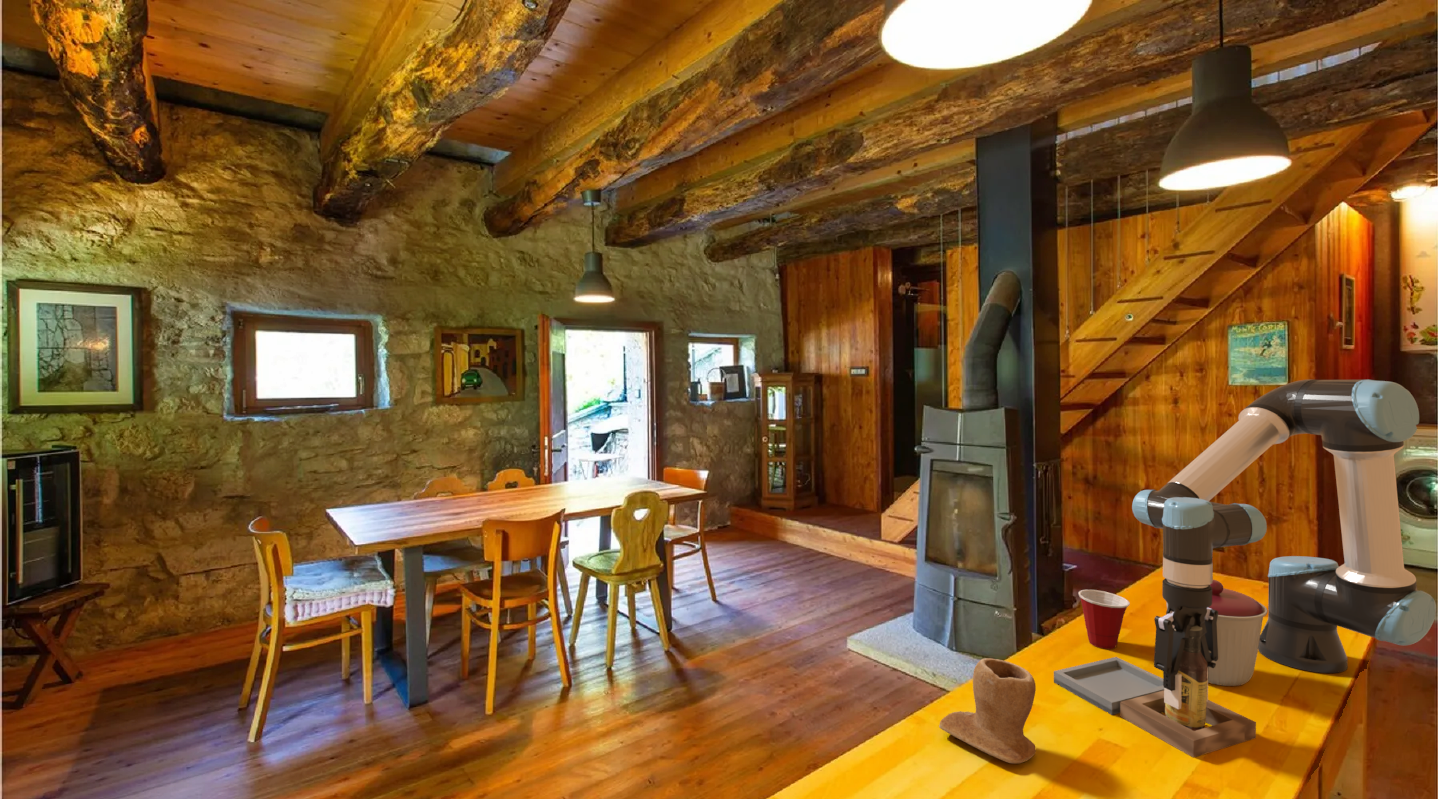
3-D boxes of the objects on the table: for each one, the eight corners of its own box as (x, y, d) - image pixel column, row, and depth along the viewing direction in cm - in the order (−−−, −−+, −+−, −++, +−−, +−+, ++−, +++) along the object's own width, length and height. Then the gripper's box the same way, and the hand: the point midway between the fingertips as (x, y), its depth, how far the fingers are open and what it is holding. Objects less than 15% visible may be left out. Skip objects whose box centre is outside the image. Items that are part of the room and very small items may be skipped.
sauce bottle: (1156, 718, 124) (1157, 618, 123) (1187, 716, 125) (1187, 616, 123) (1184, 738, 117) (1185, 632, 116) (1215, 735, 118) (1217, 630, 117)
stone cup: (1050, 750, 115) (1050, 669, 114) (1014, 776, 108) (1013, 690, 107) (974, 714, 127) (973, 641, 127) (937, 736, 121) (936, 658, 120)
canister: (1243, 661, 146) (1244, 570, 145) (1283, 701, 129) (1285, 598, 128) (1151, 652, 152) (1151, 564, 151) (1178, 689, 135) (1178, 590, 134)
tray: (1116, 667, 145) (1116, 656, 145) (1177, 697, 131) (1177, 685, 131) (1053, 682, 139) (1053, 671, 139) (1111, 715, 126) (1111, 702, 126)
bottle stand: (1179, 700, 130) (1179, 686, 130) (1255, 738, 117) (1255, 722, 117) (1120, 716, 125) (1120, 701, 125) (1193, 757, 112) (1193, 740, 112)
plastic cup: (1137, 655, 150) (1138, 605, 150) (1087, 652, 152) (1087, 603, 152) (1118, 636, 161) (1119, 589, 160) (1071, 633, 163) (1071, 587, 162)
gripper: (1202, 569, 126) (1201, 683, 127) (1130, 582, 120) (1129, 702, 121) (1244, 580, 119) (1242, 701, 120) (1169, 595, 113) (1168, 722, 114)
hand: (1185, 701), depth 121 cm, fingers closed on sauce bottle, 6 cm apart
